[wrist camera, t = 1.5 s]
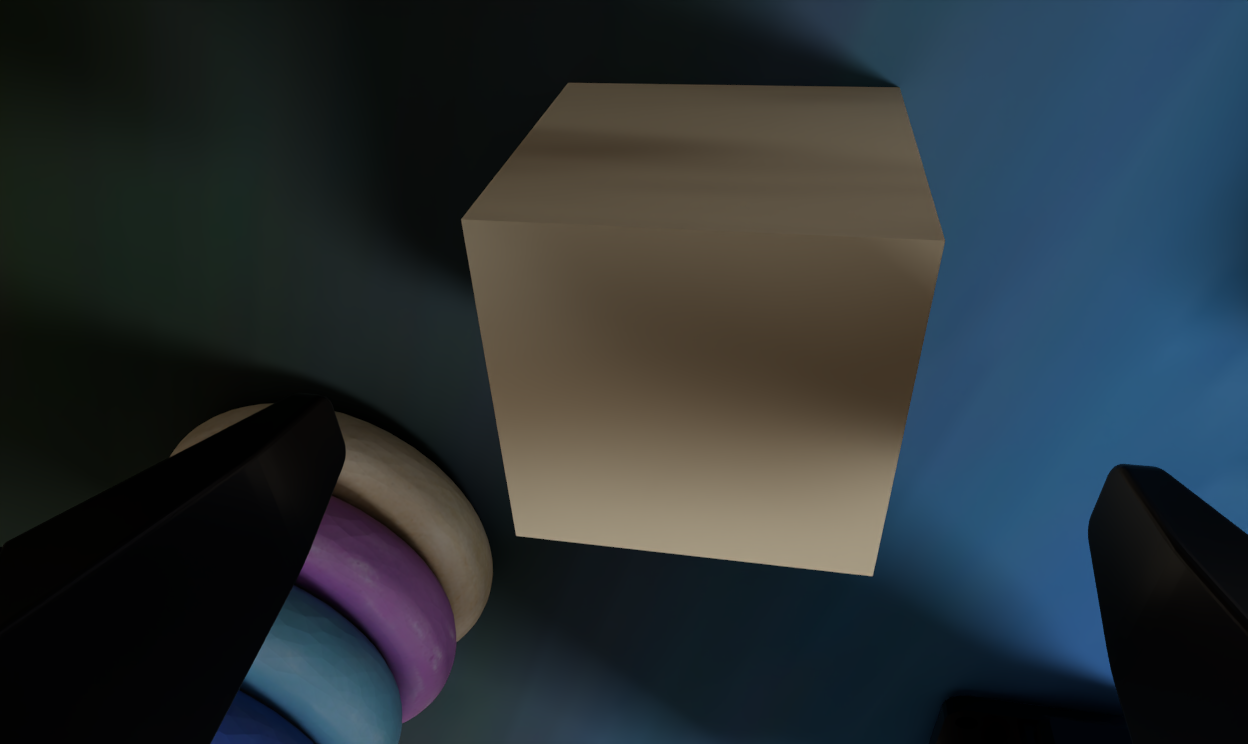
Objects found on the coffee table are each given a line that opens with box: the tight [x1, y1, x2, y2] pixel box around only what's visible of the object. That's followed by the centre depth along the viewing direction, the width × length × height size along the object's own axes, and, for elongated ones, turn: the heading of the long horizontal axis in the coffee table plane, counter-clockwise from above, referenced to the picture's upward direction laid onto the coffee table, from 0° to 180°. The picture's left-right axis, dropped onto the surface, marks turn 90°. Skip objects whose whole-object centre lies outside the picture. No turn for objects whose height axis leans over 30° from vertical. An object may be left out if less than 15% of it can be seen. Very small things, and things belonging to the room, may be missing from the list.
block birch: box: [461, 83, 945, 576], centre depth 12 cm, size 5×5×5 cm
